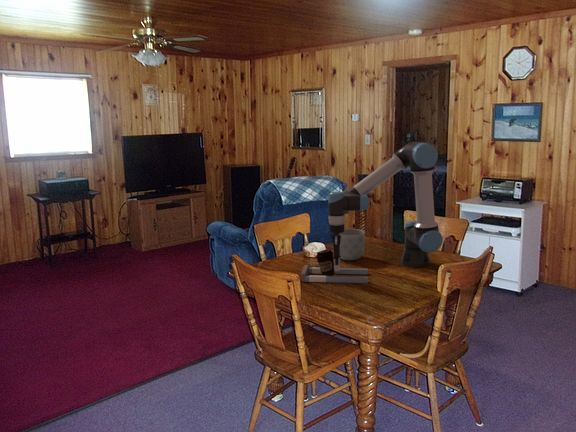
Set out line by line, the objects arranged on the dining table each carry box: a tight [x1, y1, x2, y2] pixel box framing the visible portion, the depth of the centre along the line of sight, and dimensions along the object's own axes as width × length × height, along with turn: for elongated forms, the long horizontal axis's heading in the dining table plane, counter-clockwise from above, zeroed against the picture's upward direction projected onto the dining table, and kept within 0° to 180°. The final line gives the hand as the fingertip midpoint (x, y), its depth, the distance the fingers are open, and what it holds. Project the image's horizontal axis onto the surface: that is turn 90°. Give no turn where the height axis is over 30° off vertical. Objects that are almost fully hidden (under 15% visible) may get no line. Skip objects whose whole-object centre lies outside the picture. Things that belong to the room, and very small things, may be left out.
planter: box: [339, 228, 366, 262], centre depth 291 cm, size 17×17×15 cm
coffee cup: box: [315, 249, 336, 276], centre depth 259 cm, size 9×8×13 cm
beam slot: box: [300, 264, 369, 284], centre depth 259 cm, size 32×15×4 cm, turn 81°
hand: (337, 270), depth 259 cm, fingers closed
